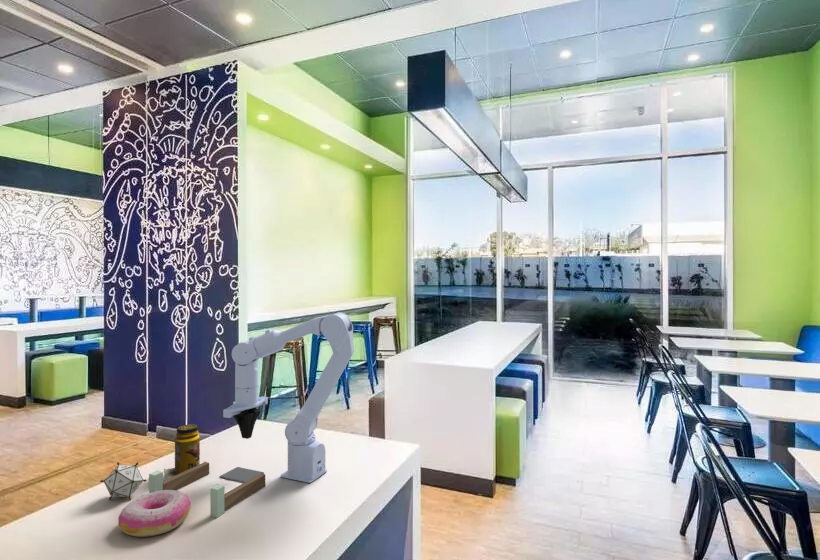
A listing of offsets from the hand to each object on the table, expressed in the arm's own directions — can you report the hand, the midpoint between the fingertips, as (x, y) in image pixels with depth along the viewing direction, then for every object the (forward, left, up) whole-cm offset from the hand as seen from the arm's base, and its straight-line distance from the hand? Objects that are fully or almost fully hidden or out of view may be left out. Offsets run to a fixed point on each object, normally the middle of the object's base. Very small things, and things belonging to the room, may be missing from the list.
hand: (246, 437), depth 122 cm
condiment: (+16, +6, -10) cm, 20 cm away
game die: (+17, +22, -10) cm, 29 cm away
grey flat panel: (0, +2, -9) cm, 10 cm away
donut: (0, +27, -10) cm, 29 cm away
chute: (0, +12, -9) cm, 15 cm away
